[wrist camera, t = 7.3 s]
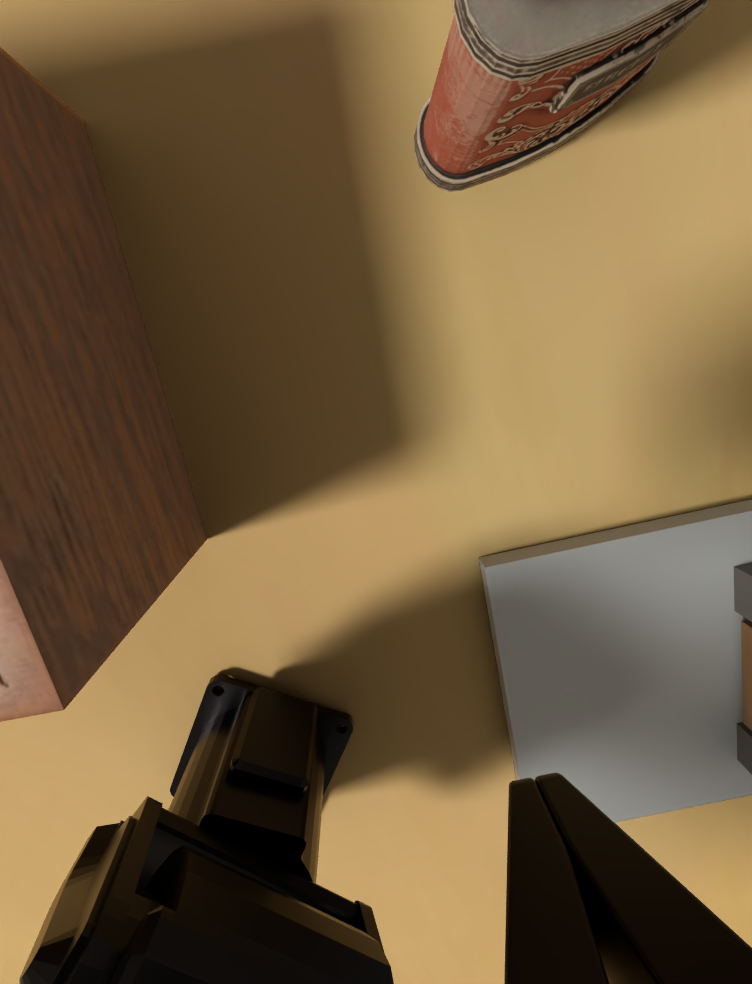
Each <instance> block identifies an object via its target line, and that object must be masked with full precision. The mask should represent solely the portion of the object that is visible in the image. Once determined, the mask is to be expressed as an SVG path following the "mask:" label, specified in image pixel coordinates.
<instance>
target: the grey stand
mask: <svg viewBox="0 0 752 984" xmlns="http://www.w3.org/2000/svg"><path fill="white" fill-rule="evenodd" d="M479 563H480V569H481V574H482V580H483V586H484V592H485V598H486V604H487V610H488V615H489V621H490V627H491V633H492V639H493V645H494V650H495V656H496V662H497V668H498V674H499V680H500V686H501V691H502V697H503V703H504V709H505V715H506V721H507V727H508V732H509V738H510V744H511V750H512V756H513V762H514V768H515V773H516V779H517V780H520V779H525V778H532V779H534V780H535V778H536V777H537V776H540V775H545V774H550V773H560V774H561V775H563V776H564V777H565V778H566V779H567V780H568V781H569V782H570V783H571V784H573V785H574V786H575V787H576V788H577V789H578V790H579V791H580V792H581V793H582V794H584V795H585V796H586V797H587V798H588V799H589V800H590V801H591V802H592V803H593V804H594V805H596V806H597V807H598V808H599V809H600V810H601V811H602V812H603V813H604V814H605V815H607V816H608V817H609V818H610V819H611V820H612V821H613V822H614V823H615V822H620V821H625V820H629V819H634V818H639V817H644V816H649V815H654V814H659V813H664V812H669V811H674V810H679V809H684V808H689V807H694V806H699V805H704V804H709V803H714V802H719V801H724V800H729V799H734V798H739V797H744V796H749V795H752V731H751V730H750V729H749V728H748V727H747V726H746V725H745V724H744V723H743V717H742V649H741V621H742V620H747V619H748V620H749V621H751V622H752V499H750V500H746V501H741V502H736V503H732V504H727V505H722V506H718V507H713V508H708V509H704V510H699V511H694V512H690V513H685V514H680V515H675V516H671V517H666V518H661V519H657V520H652V521H647V522H643V523H638V524H633V525H629V526H624V527H619V528H615V529H610V530H605V531H601V532H596V533H591V534H587V535H582V536H577V537H573V538H568V539H563V540H559V541H554V542H549V543H545V544H540V545H535V546H531V547H526V548H521V549H517V550H512V551H507V552H503V553H498V554H493V555H489V556H484V557H479Z"/></svg>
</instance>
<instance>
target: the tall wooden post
mask: <svg viewBox="0 0 752 984" xmlns="http://www.w3.org/2000/svg"><path fill="white" fill-rule="evenodd" d="M741 649H742V717H743V723H744V724H745V725H746V726H747V727H748V728H749V729H750V730H751V731H752V622H751V621H749V620H748V619H747V620H742V621H741Z"/></svg>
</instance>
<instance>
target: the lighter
mask: <svg viewBox="0 0 752 984" xmlns="http://www.w3.org/2000/svg"><path fill="white" fill-rule="evenodd" d="M709 1H710V0H454V18H453V21H452V25H451V28H450V32H449V36H448V39H447V43H446V46H445V50H444V53H443V57H442V60H441V64H440V68H439V71H438V75H437V78H436V82H435V85H434V89H433V92H432V95H431V96H430V97H429V99H428V100H427V102H426V103H425V105H424V106H423V107H422V109H421V113H420V116H419V120H418V123H417V127H416V131H415V135H414V152H415V155H416V158H417V162H418V165H419V168H420V169H421V171H422V172H423V174H424V175H425V177H426V178H427V180H429V181H430V182H431V183H432V184H434V185H435V186H436V187H437V188H440V189H443V190H446V191H449V192H451V191H461V190H464V189H467V188H470V187H472V186H475V185H478V184H481V183H484V182H487V181H490V180H493V179H495V178H498V177H501V176H504V175H506V174H508V173H510V172H512V171H514V170H516V169H518V168H520V167H522V166H524V165H526V164H528V163H530V162H532V161H534V160H536V159H538V158H540V157H542V156H544V155H546V154H548V153H550V152H552V151H553V150H555V149H556V148H557V147H559V146H560V145H562V144H563V143H565V142H566V141H568V140H569V139H570V138H572V137H573V136H575V135H576V134H578V133H579V132H581V131H582V130H583V129H585V128H586V127H588V126H589V125H591V124H592V123H593V122H594V121H596V120H597V119H598V118H599V117H600V116H601V115H602V114H604V113H605V112H606V111H607V110H608V109H609V108H610V107H612V106H613V105H614V104H615V103H616V102H617V101H618V100H620V99H621V98H622V97H623V96H624V95H625V94H626V93H628V92H629V91H630V90H631V89H632V88H633V87H634V86H635V85H636V84H637V83H638V82H639V81H640V80H641V79H642V78H643V77H644V76H645V75H646V74H647V73H648V72H649V71H650V69H651V68H652V67H653V66H654V64H655V63H656V62H657V59H658V56H659V54H660V51H662V50H663V49H664V48H666V47H667V46H668V45H669V44H670V43H671V42H672V41H673V40H674V39H675V38H676V37H677V36H678V35H679V34H680V33H681V32H682V31H683V30H684V29H685V28H686V27H687V26H688V25H689V24H690V23H691V22H692V21H693V20H694V19H695V18H696V17H697V16H698V15H699V14H700V13H701V12H702V11H703V10H704V9H705V8H706V6H707V4H708V2H709Z"/></svg>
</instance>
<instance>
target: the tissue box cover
mask: <svg viewBox="0 0 752 984" xmlns="http://www.w3.org/2000/svg"><path fill="white" fill-rule="evenodd" d="M206 540H207V539H206V535H205V532H204V528H203V525H202V522H201V518H200V515H199V511H198V508H197V504H196V501H195V498H194V494H193V491H192V487H191V484H190V481H189V477H188V474H187V470H186V467H185V464H184V460H183V457H182V453H181V450H180V447H179V443H178V440H177V436H176V433H175V430H174V426H173V423H172V419H171V416H170V412H169V409H168V406H167V402H166V399H165V395H164V392H163V389H162V385H161V382H160V378H159V375H158V372H157V368H156V365H155V361H154V358H153V355H152V351H151V348H150V344H149V341H148V337H147V334H146V331H145V327H144V324H143V320H142V317H141V314H140V310H139V307H138V303H137V300H136V297H135V293H134V290H133V286H132V283H131V280H130V276H129V273H128V269H127V266H126V263H125V259H124V256H123V252H122V249H121V245H120V242H119V239H118V235H117V232H116V228H115V225H114V222H113V218H112V215H111V211H110V208H109V205H108V201H107V198H106V194H105V191H104V188H103V184H102V181H101V177H100V174H99V171H98V167H97V164H96V160H95V157H94V153H93V150H92V147H91V143H90V140H89V136H88V133H87V130H86V126H85V123H84V120H83V119H81V118H80V117H79V116H78V115H77V114H76V113H75V112H73V111H72V110H71V109H70V108H69V107H68V106H67V105H65V104H64V103H63V102H62V101H61V100H60V99H59V98H57V97H56V96H55V95H54V94H53V93H52V92H51V91H49V90H48V89H47V88H46V87H45V86H44V85H43V84H41V83H40V82H39V81H38V80H37V79H36V78H35V77H33V76H32V75H31V74H30V73H29V72H28V71H27V70H25V69H24V68H23V67H22V66H21V65H20V64H19V63H17V62H16V61H15V60H14V59H13V58H12V57H11V56H9V55H8V54H7V53H6V52H5V51H4V50H3V49H1V48H0V722H1V721H6V720H12V719H17V718H23V717H28V716H34V715H39V714H45V713H50V712H56V711H61V710H64V709H65V708H66V707H67V706H68V705H69V703H70V702H71V701H72V700H73V699H74V697H75V696H76V695H77V694H78V693H79V691H80V690H81V689H82V688H83V687H84V685H85V684H86V683H87V682H88V681H89V679H90V678H91V677H92V676H93V675H94V673H95V672H96V671H97V670H98V669H99V668H100V666H101V665H102V664H103V663H104V662H105V660H106V659H107V658H108V657H109V656H110V654H111V653H112V652H113V651H114V650H115V648H116V647H117V646H118V645H119V644H120V642H121V641H122V640H123V639H124V638H125V636H126V635H127V634H128V633H129V632H130V630H131V629H132V628H133V627H134V626H135V625H136V623H137V622H138V621H139V620H140V619H141V617H142V616H143V615H144V614H145V613H146V611H147V610H148V609H149V608H150V607H151V605H152V604H153V603H154V602H155V601H156V599H157V598H158V597H159V596H160V595H161V593H162V592H163V591H164V590H165V589H166V588H167V586H168V585H169V584H170V583H171V582H172V580H173V579H174V578H175V577H176V576H177V574H178V573H179V572H180V571H181V570H182V568H183V567H184V566H185V565H186V564H187V562H188V561H189V560H190V559H191V558H192V556H193V555H194V554H195V553H196V552H197V550H198V549H199V548H200V547H201V546H202V545H203V543H204V542H205V541H206Z"/></svg>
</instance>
